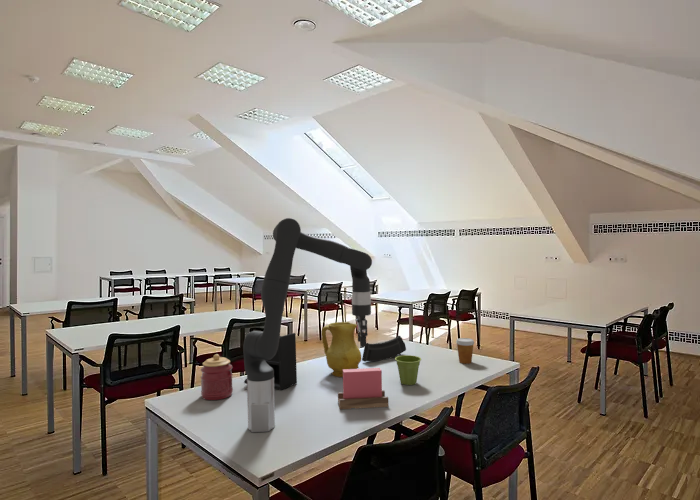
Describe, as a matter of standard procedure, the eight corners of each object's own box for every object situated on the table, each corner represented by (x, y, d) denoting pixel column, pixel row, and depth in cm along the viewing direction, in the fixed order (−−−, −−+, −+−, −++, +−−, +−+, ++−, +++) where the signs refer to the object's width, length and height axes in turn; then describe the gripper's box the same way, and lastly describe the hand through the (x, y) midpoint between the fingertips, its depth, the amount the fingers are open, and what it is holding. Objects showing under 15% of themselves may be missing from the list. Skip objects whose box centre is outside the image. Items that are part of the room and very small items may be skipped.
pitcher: (342, 380, 205) (340, 325, 207) (318, 373, 219) (317, 323, 221) (369, 373, 216) (367, 322, 218) (344, 368, 231) (343, 320, 232)
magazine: (361, 347, 232) (400, 324, 250) (357, 346, 235) (396, 323, 253) (369, 377, 236) (407, 352, 253) (365, 375, 238) (403, 351, 256)
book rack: (388, 406, 172) (388, 397, 172) (339, 409, 170) (339, 400, 170) (384, 398, 181) (384, 390, 181) (338, 401, 179) (337, 392, 179)
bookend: (243, 382, 205) (242, 332, 205) (260, 376, 215) (259, 328, 214) (281, 391, 193) (280, 337, 193) (297, 384, 202) (296, 332, 202)
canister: (224, 388, 197) (223, 349, 197) (238, 395, 187) (237, 354, 187) (196, 395, 189) (195, 354, 188) (208, 403, 179) (208, 359, 179)
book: (382, 400, 174) (381, 370, 174) (344, 402, 172) (343, 372, 172) (380, 397, 178) (379, 367, 178) (343, 399, 176) (342, 369, 176)
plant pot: (390, 383, 201) (389, 358, 200) (406, 377, 209) (405, 353, 209) (411, 389, 192) (410, 363, 192) (426, 382, 201) (426, 358, 201)
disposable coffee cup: (454, 359, 239) (454, 337, 239) (472, 359, 239) (472, 337, 239) (458, 364, 230) (457, 341, 230) (476, 364, 229) (476, 341, 229)
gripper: (373, 305, 168) (374, 347, 168) (368, 300, 182) (368, 339, 182) (353, 305, 167) (354, 348, 167) (350, 301, 182) (350, 340, 182)
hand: (361, 343), depth 175 cm, fingers open, 8 cm apart
